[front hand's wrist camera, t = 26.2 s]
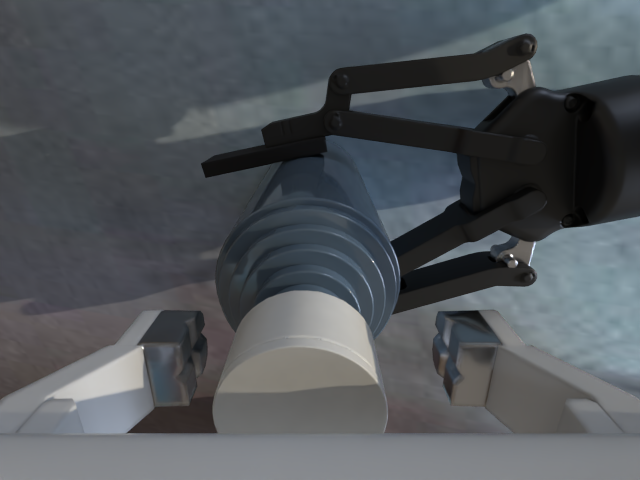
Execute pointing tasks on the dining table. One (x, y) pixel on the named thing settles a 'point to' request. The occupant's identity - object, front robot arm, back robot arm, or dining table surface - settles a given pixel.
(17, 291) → the dining table surface
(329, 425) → the cap
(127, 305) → the dining table surface
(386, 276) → the bottle
